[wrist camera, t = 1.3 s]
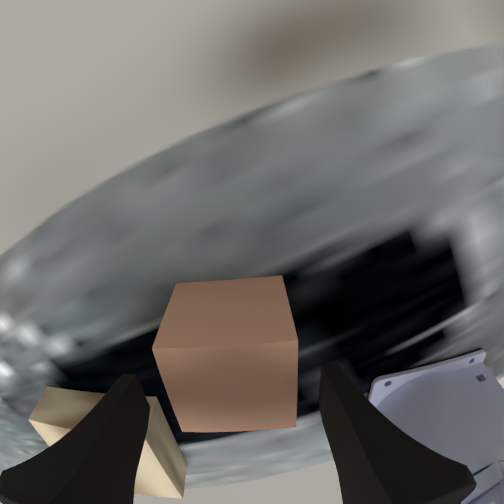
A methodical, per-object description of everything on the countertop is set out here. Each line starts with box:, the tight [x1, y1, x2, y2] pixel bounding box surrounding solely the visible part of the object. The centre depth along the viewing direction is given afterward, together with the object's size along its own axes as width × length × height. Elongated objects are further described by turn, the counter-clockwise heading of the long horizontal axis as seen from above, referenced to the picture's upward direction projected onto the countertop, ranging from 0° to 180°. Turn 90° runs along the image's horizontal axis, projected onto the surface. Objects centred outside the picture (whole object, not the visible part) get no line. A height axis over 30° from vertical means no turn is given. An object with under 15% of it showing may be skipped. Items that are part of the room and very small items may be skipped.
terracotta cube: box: [152, 275, 298, 432], centre depth 13 cm, size 5×5×5 cm
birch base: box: [28, 386, 187, 499], centre depth 18 cm, size 9×9×4 cm
